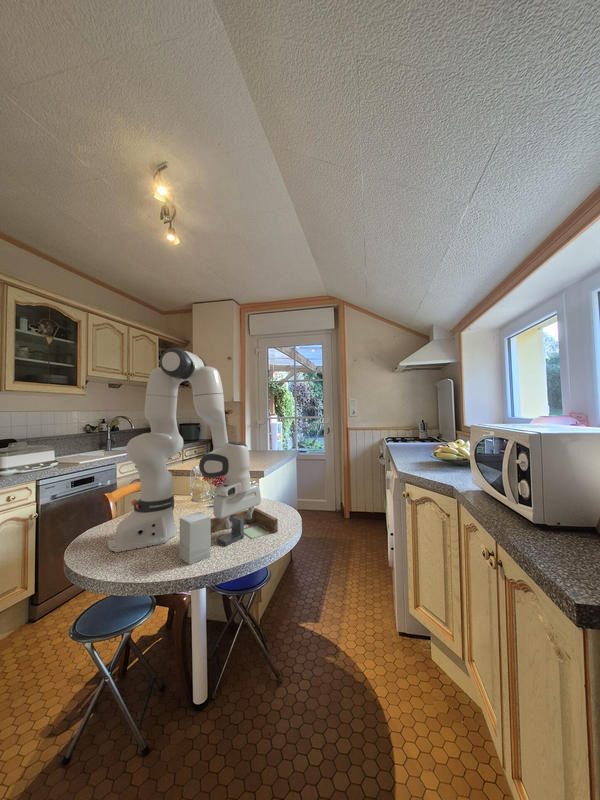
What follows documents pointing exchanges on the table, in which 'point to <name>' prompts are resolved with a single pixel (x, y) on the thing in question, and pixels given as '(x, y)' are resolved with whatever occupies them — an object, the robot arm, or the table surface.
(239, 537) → the bracket
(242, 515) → the wooden corner frame
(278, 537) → the table surface
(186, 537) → the supplement box
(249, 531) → the mat
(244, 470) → the robot arm
